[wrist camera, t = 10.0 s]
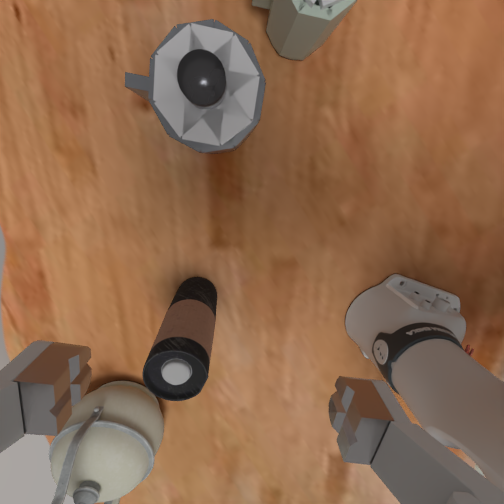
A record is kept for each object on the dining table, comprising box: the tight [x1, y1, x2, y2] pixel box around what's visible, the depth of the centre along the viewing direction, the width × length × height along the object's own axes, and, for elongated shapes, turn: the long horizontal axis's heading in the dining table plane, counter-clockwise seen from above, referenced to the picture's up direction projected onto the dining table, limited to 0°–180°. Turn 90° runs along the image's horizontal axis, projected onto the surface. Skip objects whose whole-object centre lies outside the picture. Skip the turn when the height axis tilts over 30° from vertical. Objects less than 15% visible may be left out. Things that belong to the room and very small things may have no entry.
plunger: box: [177, 49, 227, 110], centre depth 27 cm, size 4×4×13 cm
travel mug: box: [143, 277, 217, 401], centre depth 41 cm, size 8×8×20 cm
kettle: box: [49, 381, 164, 504], centre depth 47 cm, size 25×18×25 cm
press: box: [125, 19, 266, 154], centre depth 32 cm, size 13×11×18 cm
